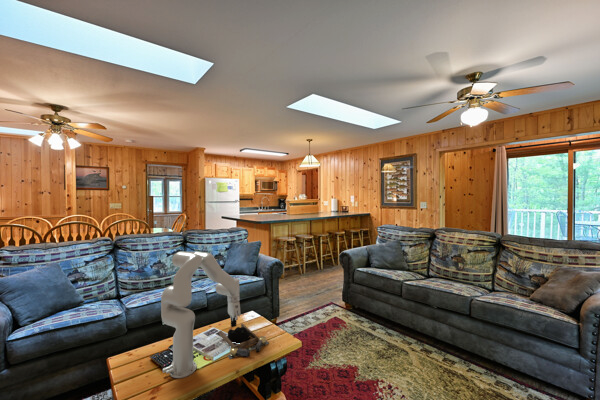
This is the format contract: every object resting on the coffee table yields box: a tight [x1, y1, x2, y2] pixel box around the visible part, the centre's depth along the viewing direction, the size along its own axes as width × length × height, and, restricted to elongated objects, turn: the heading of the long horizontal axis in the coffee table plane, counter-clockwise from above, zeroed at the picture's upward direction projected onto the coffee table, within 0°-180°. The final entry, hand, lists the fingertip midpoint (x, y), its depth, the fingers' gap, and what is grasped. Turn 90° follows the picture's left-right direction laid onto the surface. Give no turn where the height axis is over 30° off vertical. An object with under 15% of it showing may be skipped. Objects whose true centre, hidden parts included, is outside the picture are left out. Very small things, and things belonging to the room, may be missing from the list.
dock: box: [218, 323, 259, 349], centre depth 164 cm, size 16×22×3 cm
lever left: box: [229, 347, 251, 357], centre depth 147 cm, size 11×4×3 cm, turn 80°
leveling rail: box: [227, 340, 270, 360], centre depth 153 cm, size 25×4×1 cm, turn 128°
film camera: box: [227, 326, 251, 343], centre depth 162 cm, size 15×10×9 cm, turn 75°
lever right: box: [255, 335, 267, 353], centre depth 155 cm, size 11×4×3 cm, turn 170°
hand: (233, 326), depth 170 cm, fingers closed
